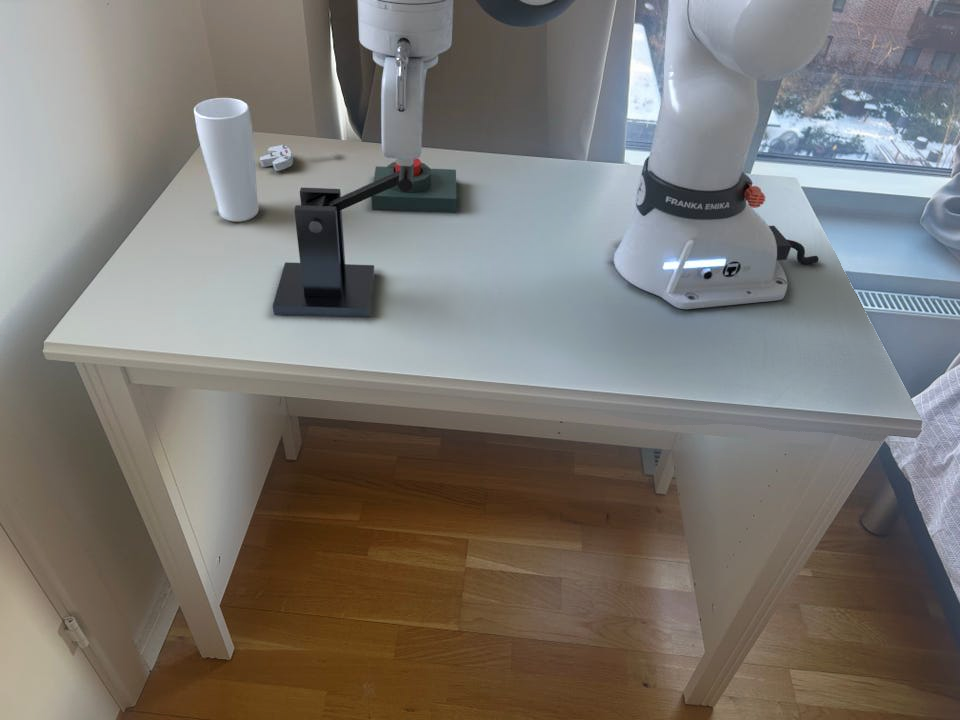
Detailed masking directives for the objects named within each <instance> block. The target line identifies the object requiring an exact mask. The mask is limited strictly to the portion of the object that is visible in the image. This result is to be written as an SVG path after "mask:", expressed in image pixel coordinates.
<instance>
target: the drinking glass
mask: <svg viewBox="0 0 960 720" xmlns="http://www.w3.org/2000/svg"><path fill="white" fill-rule="evenodd" d="M193 114H194V121H195V128H196V133H197V138H198V142H199V145H200V149H201V153H202V156H203V159H204V163H205V166H206V169H207V173H208V177H209V180H210V184H211V187H212V191H213V194H214V198H215V201H216V206H217V211H218V214H219V216H220V217H221V218H222V219H224V220H226V221H229V222H233V223H234V222H235V223H238V222H239V223H240V222H245V221H249V220H251V219H253V218H255V217H256V216H257V215H258V213H259V210H260V206H259V200H258V199H259V198H258V189H257V188H258V187H257V173H256V171H257V170H256V153H255V152H256V151H255V137H254V136H255V135H254V128H253V122H252V117H251V112H250V107H249V104H247V103H246V102H245V101H243V100H241V99H237V98H233V97H232V98H231V97H216V98H210V99H206V100H203V101H200V102H198V103H197V104H196V105H195V106H194V108H193Z"/></svg>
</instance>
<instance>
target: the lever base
mask: <svg viewBox="0 0 960 720" xmlns="http://www.w3.org/2000/svg"><path fill="white" fill-rule="evenodd" d="M324 195H325V196H326V197H327V199H328V200H329V202H330V201H333V200H335V199H337V198H339V197H342V195H341V188H324V187H302V186H301V187H300V189H299V199H300V204H295V206H294V209H293V212H294V213H293V214H294V222H295V230H296V238H297V239H296V240H297V247H298V256H299V262H288V261H287V262H284V265H283V269H282V272H281V274H280V278H279V283H278V286H277V289H276V292H275V295H274V300H273V302H272V311H273V315H274V316H275V315H278V316H308V317H309V316H312V317H315V316H316V317H349V318H353V317H354V318H369V317H370V313H371V304H372V297H373V289H374V283H375V282H374V281H375V265H374V264H346V256H345V255H346V253H345V239H344V225H343V223H344V222H343V210H340V211H338V212H337V208H336V207H333V206H306V205H305V204H307V203H309V202H311V201H313V200H316V199H318V198H320V197H322V196H324Z"/></svg>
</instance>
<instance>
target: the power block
mask: <svg viewBox="0 0 960 720" xmlns="http://www.w3.org/2000/svg"><path fill="white" fill-rule="evenodd" d="M395 172H396V161H393V162H391V163H390V164H388V165H387V166H380V165H379V166H378V165H377V166H376V165H375V169H374V176H373V182H375V181H377V180H379V179H382V178H384V177H386V176H388V175H391V174H393V173H395ZM370 199H371V210H377V211H378V210H380V211H381V210H382V211H405V212H406V211H407V212H433V213H436V212H437V213H457V203H458V202H457V201H458V199H457V169H452V168H451V169H450V168H431V167H429V166H428V164H426V163H424V162H421V174H420V175H419V176H416V177H413V187H412V189H411V190H410V191H408V192H403V191H401V190H400V189H399V187H398V185H397V186H394V187H392V188H390V189H388V190H385V191H383V192H381V193H379V194H376V195H374V196H372V197H370Z"/></svg>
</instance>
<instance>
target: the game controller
mask: <svg viewBox="0 0 960 720" xmlns="http://www.w3.org/2000/svg"><path fill="white" fill-rule="evenodd" d="M267 152H268V154H265V155H263V156H260V157H259V162H260V165H261V167H263V168H266V167H271V166H273V169H274V171H275V172H279V171H282V170H285V169H288V168H289V167H292V165H293V164H294V158H295V157H297V158H298V157H300V156H301V155H303V154H304V155H305V152H304V153H300V154H299V155H294V156H293V155H292V151H291V149H290V148H289V147H288V146H287V145H285V144H284V143H282V144H280V145H274V146H270V147H268V148H267ZM308 154H310V155H312V153H311V152H310V153H309V152H308ZM328 155H329V153H327V154H326V155H324V156H323V158H325V157H326V156H328ZM335 155H337V156H338V154H335ZM313 157H315V158H316V156H315V155H313Z"/></svg>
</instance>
